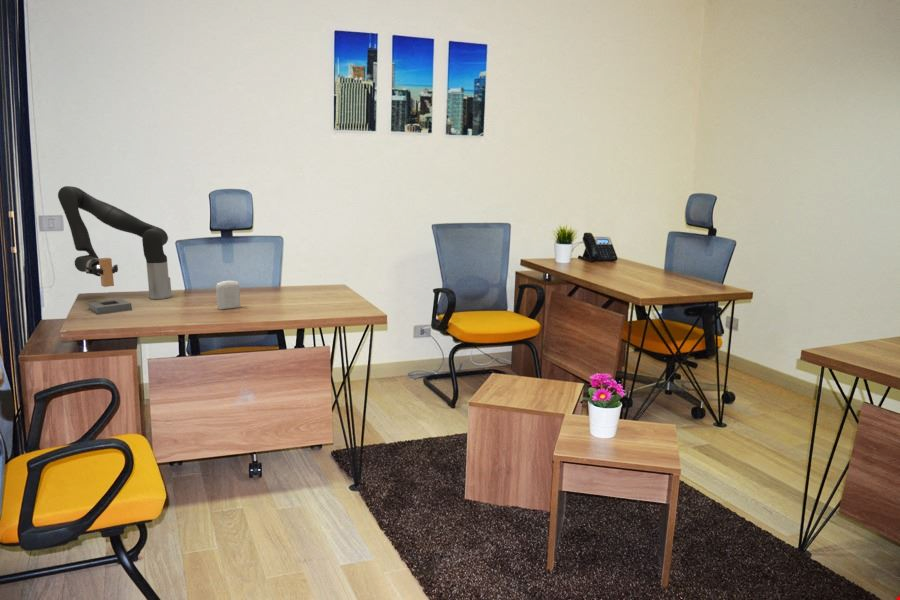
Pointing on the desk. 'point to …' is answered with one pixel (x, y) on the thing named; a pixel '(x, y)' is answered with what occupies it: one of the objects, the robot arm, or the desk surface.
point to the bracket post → (106, 272)
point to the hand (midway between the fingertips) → (108, 271)
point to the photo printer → (228, 294)
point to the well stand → (110, 306)
